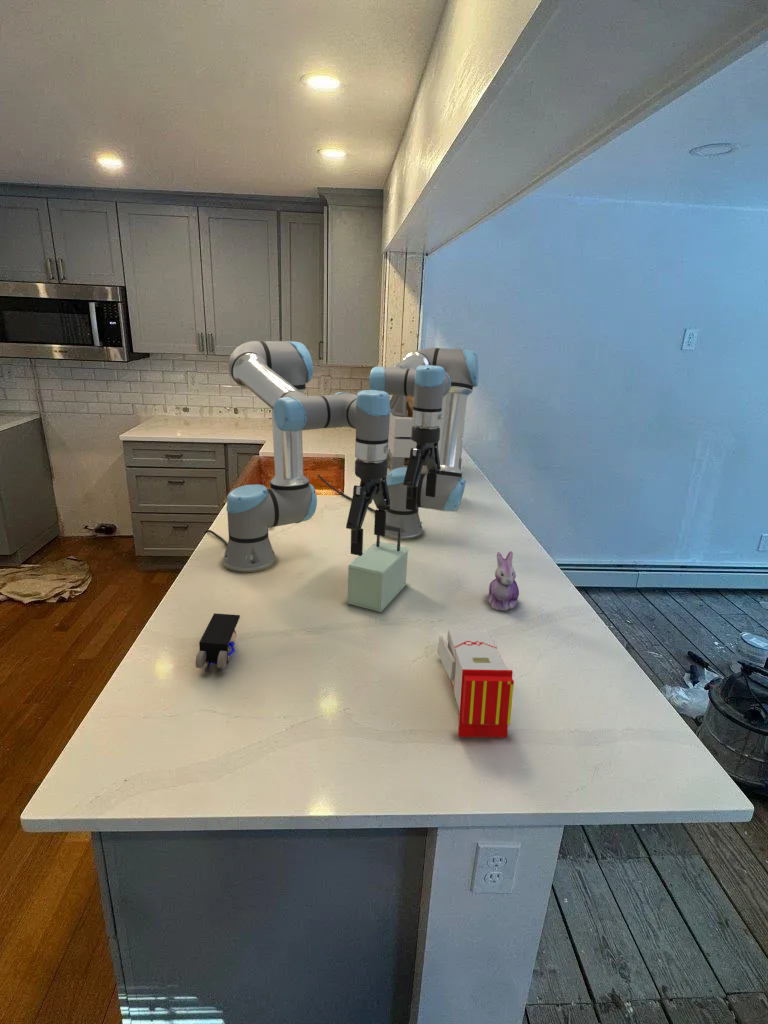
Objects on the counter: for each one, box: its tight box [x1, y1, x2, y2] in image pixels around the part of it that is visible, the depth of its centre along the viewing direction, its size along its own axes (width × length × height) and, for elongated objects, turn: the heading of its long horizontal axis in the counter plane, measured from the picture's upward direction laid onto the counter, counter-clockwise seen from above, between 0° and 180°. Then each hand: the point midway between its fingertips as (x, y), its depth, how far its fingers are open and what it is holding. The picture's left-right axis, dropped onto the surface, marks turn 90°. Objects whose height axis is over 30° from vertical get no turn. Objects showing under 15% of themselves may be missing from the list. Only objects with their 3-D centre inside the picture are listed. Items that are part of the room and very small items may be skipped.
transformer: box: [386, 395, 465, 472], centre depth 268 cm, size 34×33×41 cm
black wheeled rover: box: [195, 612, 241, 673], centre depth 125 cm, size 7×8×15 cm
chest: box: [347, 551, 409, 613], centre depth 156 cm, size 18×10×11 cm, turn 156°
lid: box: [348, 523, 410, 575], centre depth 153 cm, size 18×10×8 cm, turn 156°
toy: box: [437, 628, 515, 738], centre depth 117 cm, size 12×13×30 cm
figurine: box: [487, 550, 520, 612], centre depth 153 cm, size 9×10×15 cm
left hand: (368, 544), depth 138 cm, fingers open, 13 cm apart
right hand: (420, 502), depth 156 cm, fingers open, 13 cm apart
